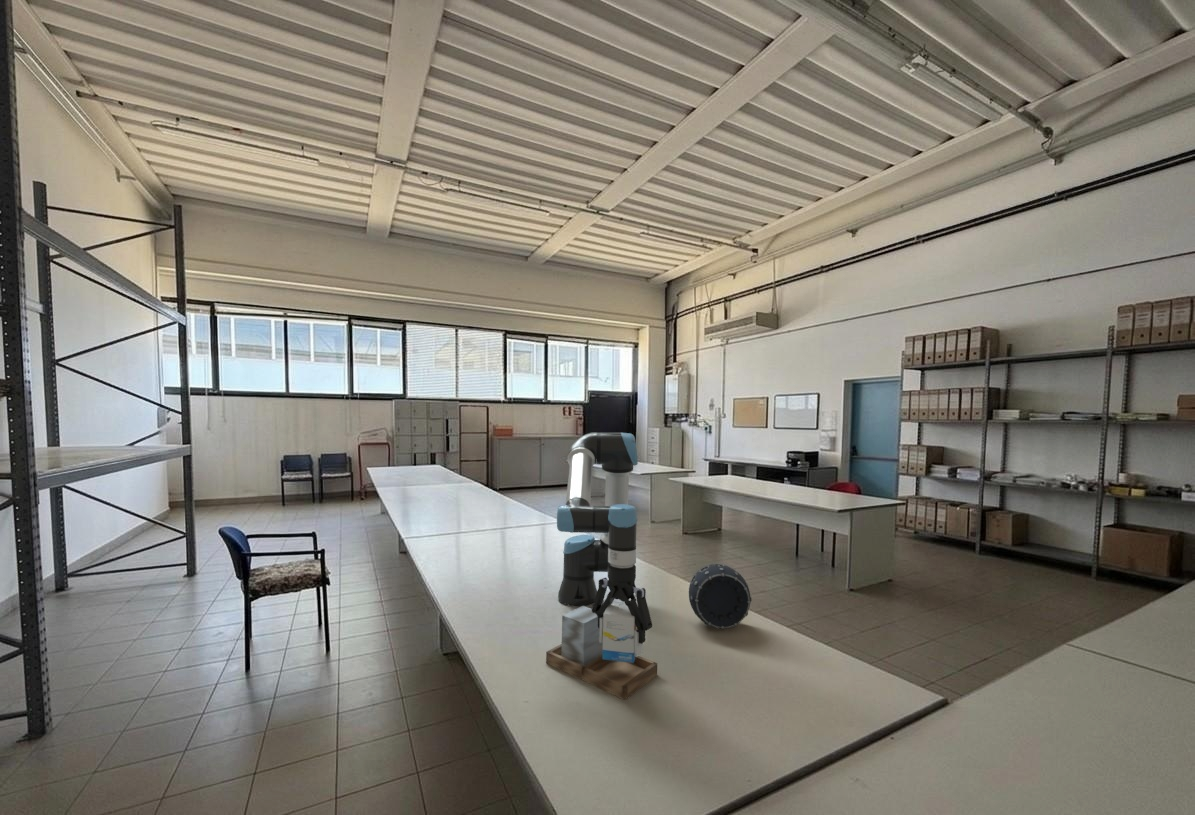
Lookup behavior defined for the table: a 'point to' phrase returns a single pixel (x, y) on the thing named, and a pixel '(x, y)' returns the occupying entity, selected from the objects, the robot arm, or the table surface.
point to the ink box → (618, 633)
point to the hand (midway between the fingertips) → (620, 647)
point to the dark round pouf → (719, 596)
